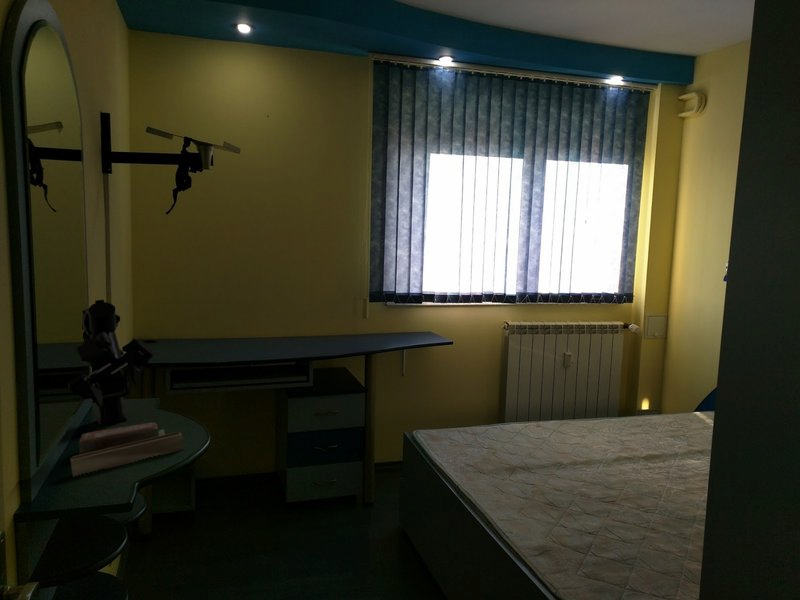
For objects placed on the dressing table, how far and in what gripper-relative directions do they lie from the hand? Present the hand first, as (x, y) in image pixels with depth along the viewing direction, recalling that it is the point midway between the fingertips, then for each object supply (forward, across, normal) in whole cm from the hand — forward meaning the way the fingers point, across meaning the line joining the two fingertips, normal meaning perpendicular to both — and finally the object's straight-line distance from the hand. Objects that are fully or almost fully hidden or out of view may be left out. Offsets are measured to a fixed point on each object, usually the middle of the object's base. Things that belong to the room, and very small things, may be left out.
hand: (117, 394), depth 133 cm
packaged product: (+7, -7, +10) cm, 13 cm away
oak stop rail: (+15, -3, +5) cm, 16 cm away
